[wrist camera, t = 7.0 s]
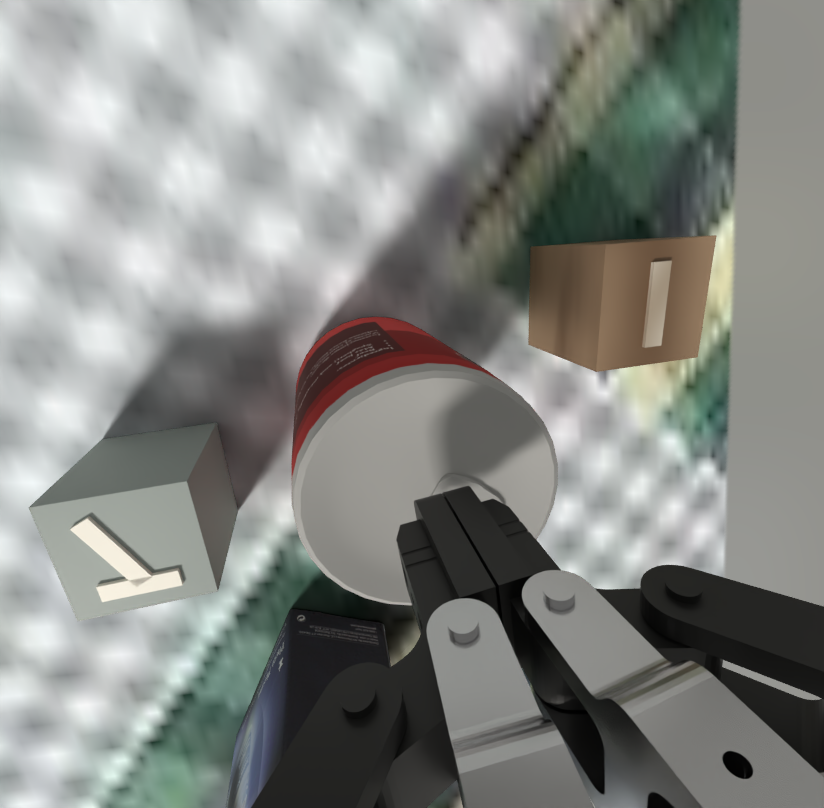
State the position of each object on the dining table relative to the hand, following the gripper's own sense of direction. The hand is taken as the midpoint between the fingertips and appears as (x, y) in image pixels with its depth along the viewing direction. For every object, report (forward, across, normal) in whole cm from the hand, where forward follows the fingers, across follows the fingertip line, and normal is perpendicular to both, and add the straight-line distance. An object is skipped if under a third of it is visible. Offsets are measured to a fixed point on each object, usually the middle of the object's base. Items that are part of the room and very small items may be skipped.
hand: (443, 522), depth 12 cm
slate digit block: (+12, +10, +2) cm, 16 cm away
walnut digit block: (+12, -11, -3) cm, 17 cm away
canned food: (+12, 0, 0) cm, 12 cm away
